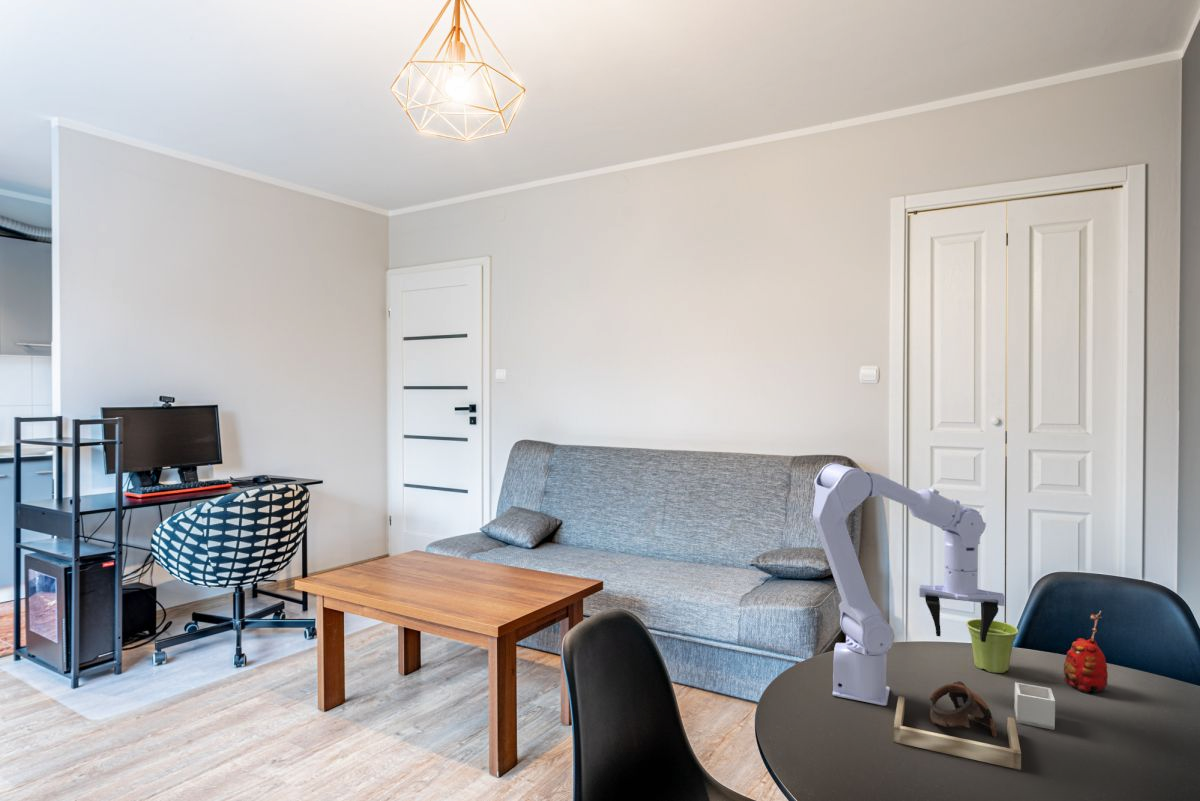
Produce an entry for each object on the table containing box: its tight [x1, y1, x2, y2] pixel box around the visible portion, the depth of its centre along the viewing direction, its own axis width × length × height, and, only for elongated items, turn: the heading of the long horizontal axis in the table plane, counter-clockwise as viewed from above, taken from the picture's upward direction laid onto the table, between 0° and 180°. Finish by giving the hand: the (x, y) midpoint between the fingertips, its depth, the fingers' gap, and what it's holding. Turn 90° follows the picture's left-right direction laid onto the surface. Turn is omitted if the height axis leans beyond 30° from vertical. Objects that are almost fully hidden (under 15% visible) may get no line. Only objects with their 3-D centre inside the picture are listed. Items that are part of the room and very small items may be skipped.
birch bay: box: [892, 695, 1022, 771], centre depth 114 cm, size 18×12×2 cm
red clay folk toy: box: [1063, 610, 1109, 693], centre depth 133 cm, size 8×7×15 cm
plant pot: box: [965, 618, 1019, 674], centre depth 142 cm, size 9×9×9 cm
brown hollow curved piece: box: [929, 680, 997, 738], centre depth 119 cm, size 12×10×8 cm
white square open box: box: [1013, 682, 1056, 731], centre depth 120 cm, size 6×6×5 cm
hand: (960, 637), depth 132 cm, fingers open, 7 cm apart
